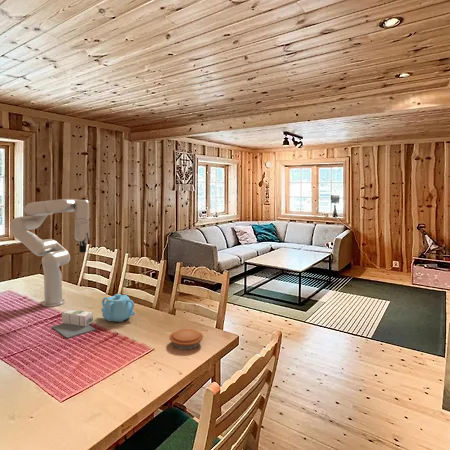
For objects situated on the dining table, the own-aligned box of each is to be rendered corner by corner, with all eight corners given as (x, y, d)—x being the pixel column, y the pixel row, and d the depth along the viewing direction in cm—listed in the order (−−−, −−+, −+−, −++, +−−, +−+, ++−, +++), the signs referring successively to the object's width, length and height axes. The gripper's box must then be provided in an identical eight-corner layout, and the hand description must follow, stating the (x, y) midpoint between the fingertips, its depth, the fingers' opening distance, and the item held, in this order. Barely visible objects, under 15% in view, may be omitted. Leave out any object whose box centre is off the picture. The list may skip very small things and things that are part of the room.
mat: (51, 327, 168) (51, 326, 168) (79, 320, 178) (79, 319, 178) (67, 338, 156) (67, 337, 156) (95, 330, 167) (95, 328, 167)
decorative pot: (136, 321, 179) (136, 297, 178) (104, 326, 172) (104, 300, 170) (130, 311, 193) (130, 288, 192) (100, 315, 186) (100, 291, 185)
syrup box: (61, 323, 172) (86, 327, 169) (61, 312, 171) (85, 316, 168) (69, 319, 178) (93, 322, 174) (69, 308, 177) (92, 312, 173)
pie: (209, 346, 153) (209, 336, 153) (179, 355, 144) (179, 344, 144) (192, 334, 166) (192, 324, 165) (163, 341, 157) (164, 331, 156)
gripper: (70, 220, 196) (70, 251, 197) (82, 222, 186) (82, 254, 188) (82, 219, 201) (83, 249, 203) (94, 221, 191) (95, 253, 193)
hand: (82, 252), depth 195 cm, fingers closed
